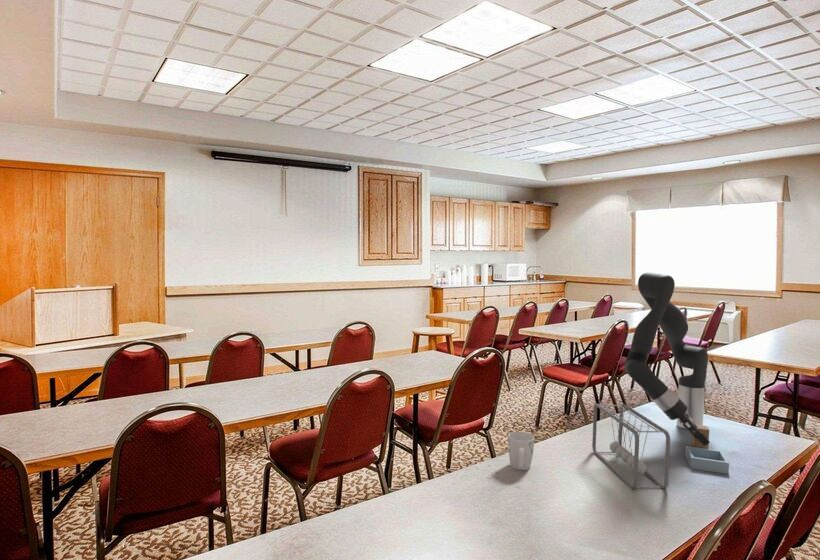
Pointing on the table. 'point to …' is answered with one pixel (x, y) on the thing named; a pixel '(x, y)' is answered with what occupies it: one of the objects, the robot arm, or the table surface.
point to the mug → (520, 449)
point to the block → (696, 441)
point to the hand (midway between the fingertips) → (705, 440)
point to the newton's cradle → (622, 452)
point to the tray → (707, 460)
